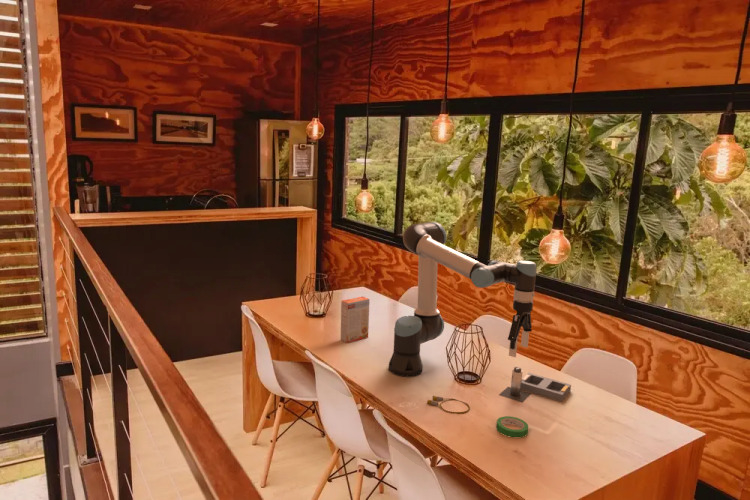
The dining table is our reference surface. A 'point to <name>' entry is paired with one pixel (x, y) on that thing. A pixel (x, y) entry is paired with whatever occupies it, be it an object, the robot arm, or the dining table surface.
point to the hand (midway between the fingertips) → (518, 351)
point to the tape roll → (512, 432)
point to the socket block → (545, 387)
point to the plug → (516, 382)
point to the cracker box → (354, 319)
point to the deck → (520, 398)
